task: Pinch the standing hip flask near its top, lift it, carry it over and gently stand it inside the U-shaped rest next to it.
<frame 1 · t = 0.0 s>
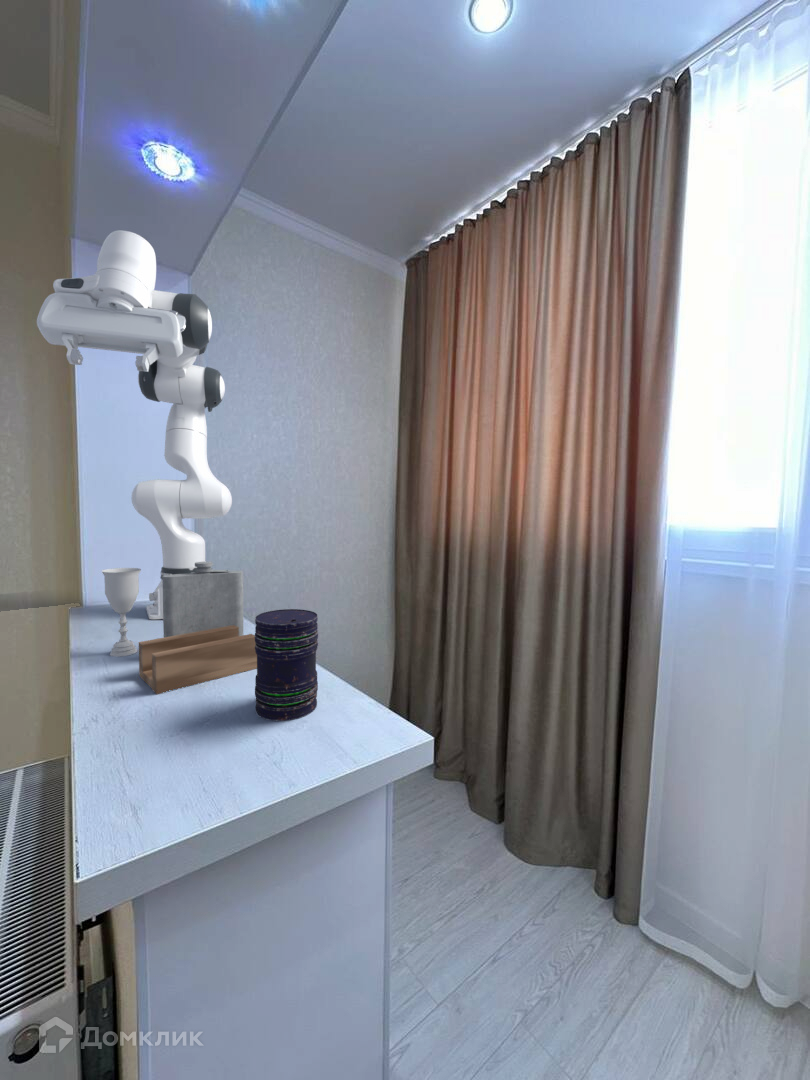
hand: (108, 365, 69), 54 cm above the worktop, tool tilted 30°, fingers open, 8 cm apart
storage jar: (286, 707, 70), on the worktop
chalice: (123, 653, 94), on the worktop
u rest: (200, 672, 84), on the worktop
hip flask: (205, 653, 95), on the worktop
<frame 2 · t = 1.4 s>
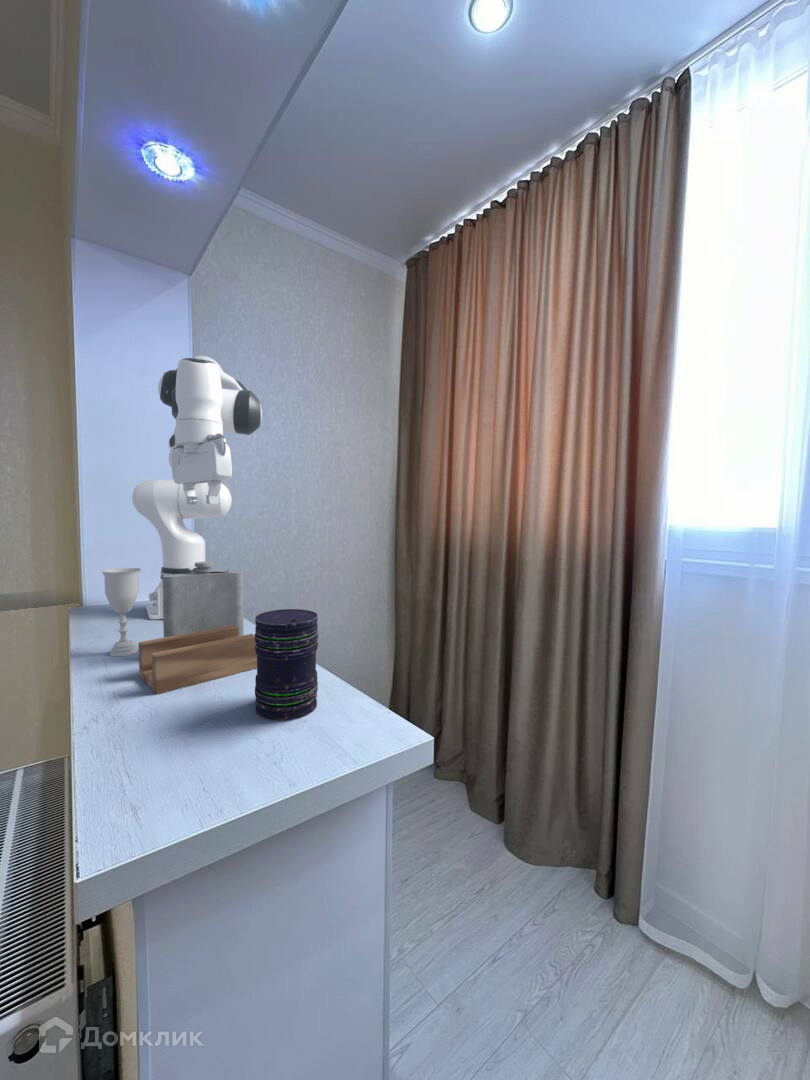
hand: (201, 504, 91), 32 cm above the worktop, tool pointing down, fingers open, 8 cm apart
nothing on the worktop moved.
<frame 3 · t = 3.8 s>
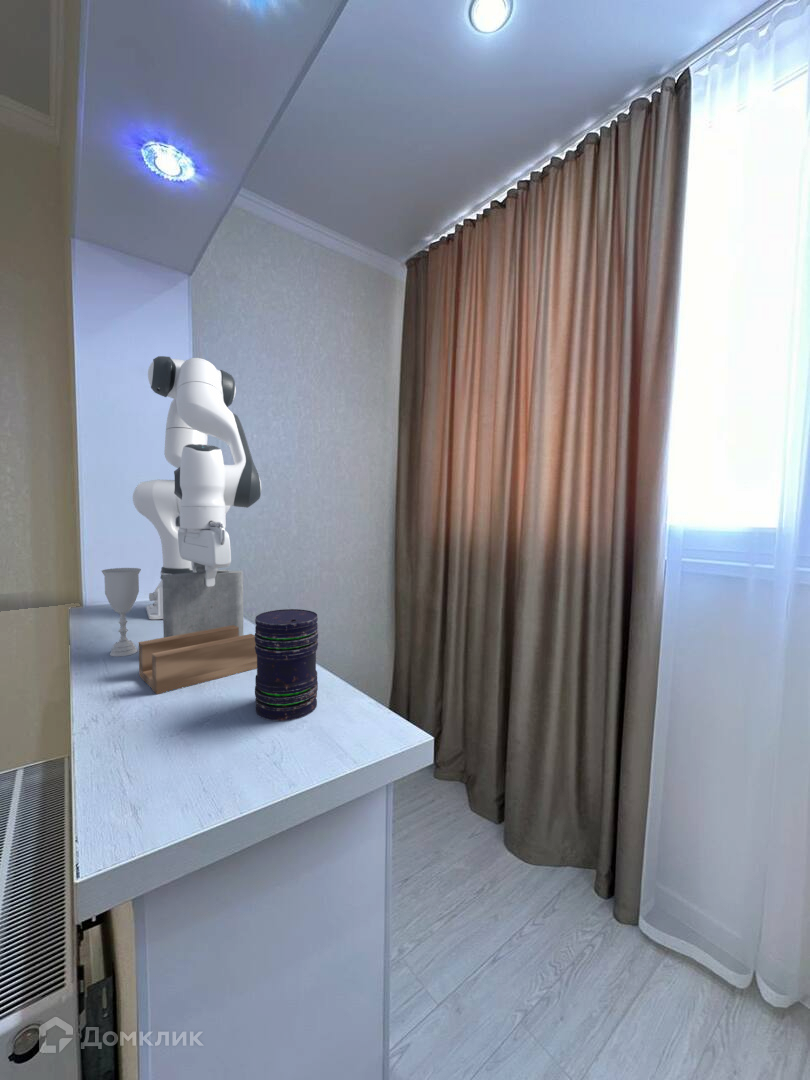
hand: (204, 584, 94), 15 cm above the worktop, tool pointing down, fingers closed on hip flask, 4 cm apart
hip flask: (205, 652, 95), on the worktop, touching gripper
everything else where it was.
when the fingers open (25 cm above the worktop, at t = 8.5 s): hip flask stays where it is, resting on u rest.
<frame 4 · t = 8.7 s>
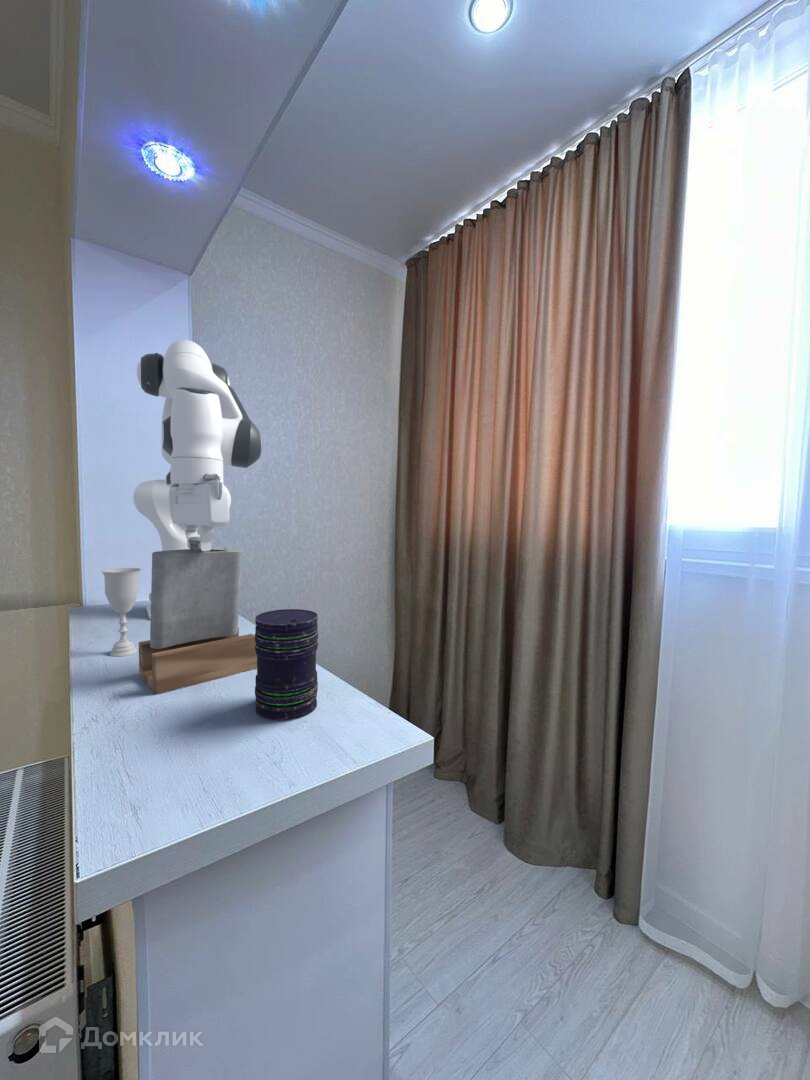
hand: (198, 549, 82), 24 cm above the worktop, tool pointing down, fingers open, 4 cm apart
hip flask: (195, 638, 85), point 6 cm above the worktop, touching gripper, u rest
everything else where it was.
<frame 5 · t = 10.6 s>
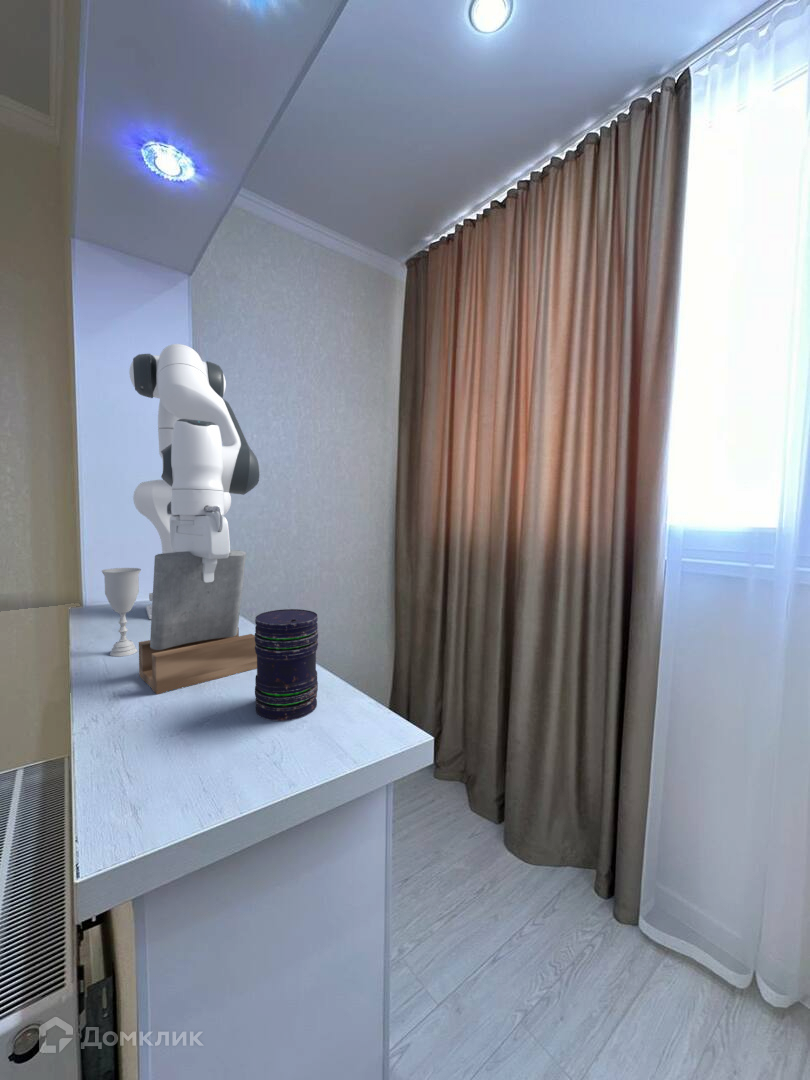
hand: (199, 579, 82), 18 cm above the worktop, tool pointing down, fingers open, 6 cm apart
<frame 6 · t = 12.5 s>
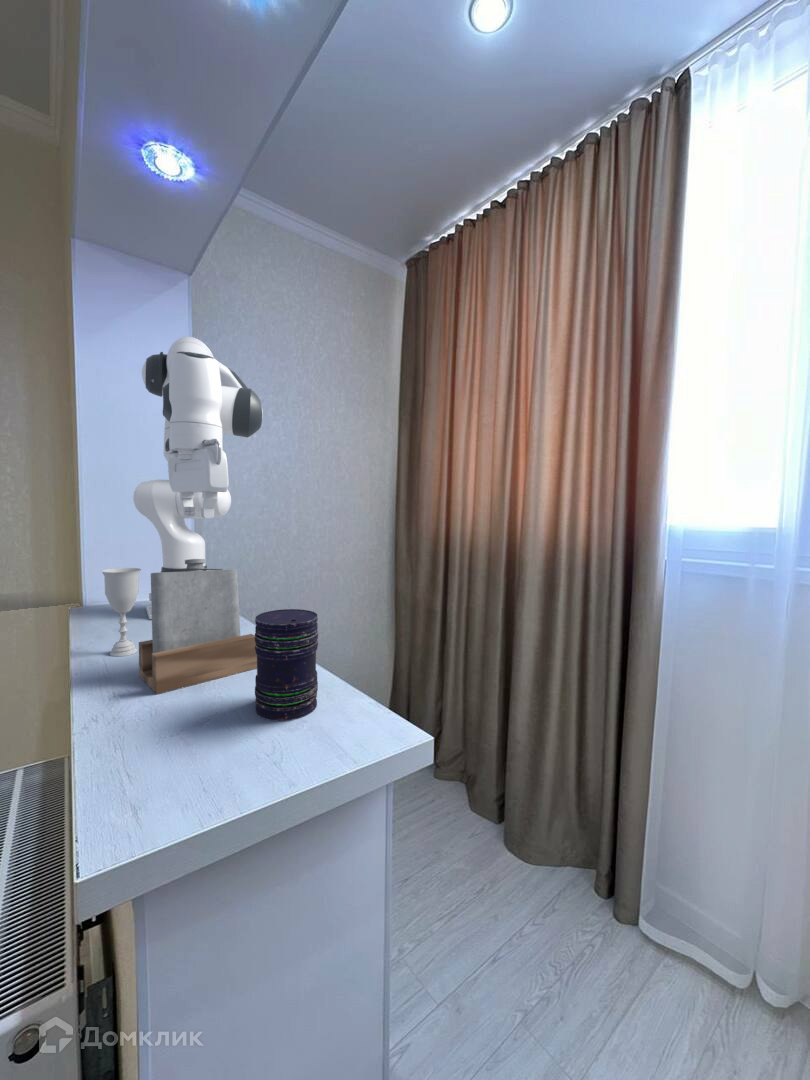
hand: (198, 516, 82), 30 cm above the worktop, tool pointing down, fingers open, 8 cm apart
hip flask: (199, 663, 84), point 2 cm above the worktop, touching u rest
everything else where it was.
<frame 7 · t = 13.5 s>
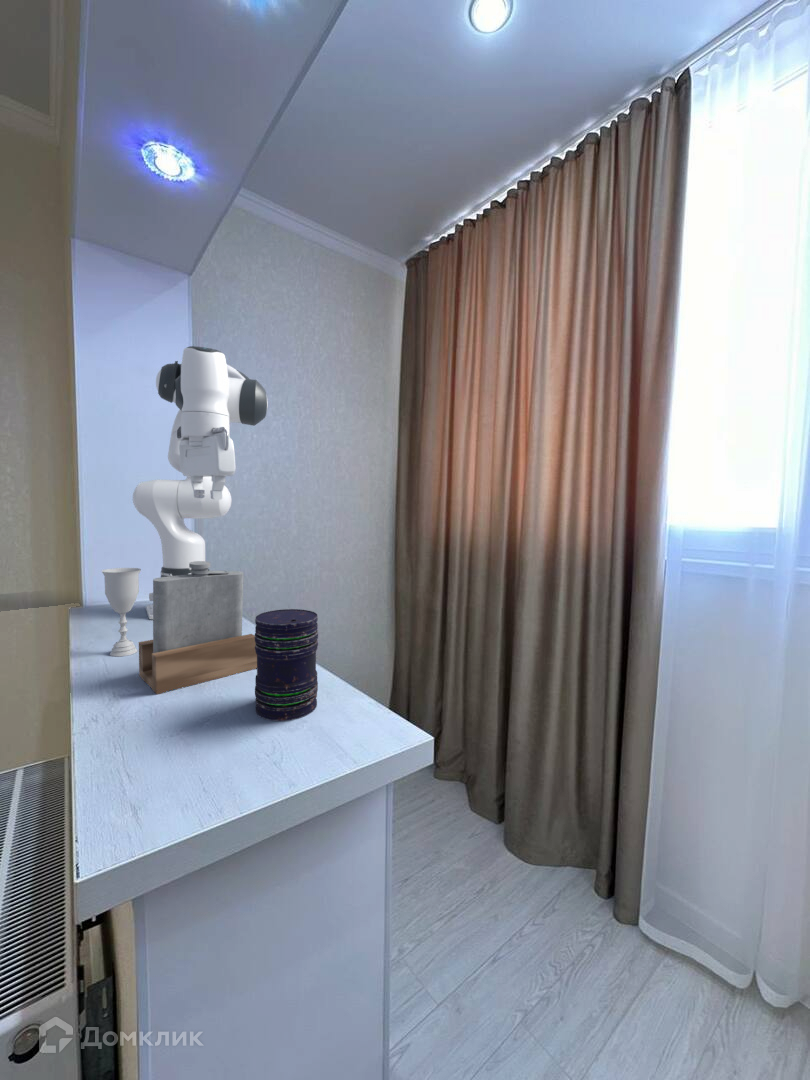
hand: (207, 498, 89), 34 cm above the worktop, tool pointing down, fingers open, 8 cm apart
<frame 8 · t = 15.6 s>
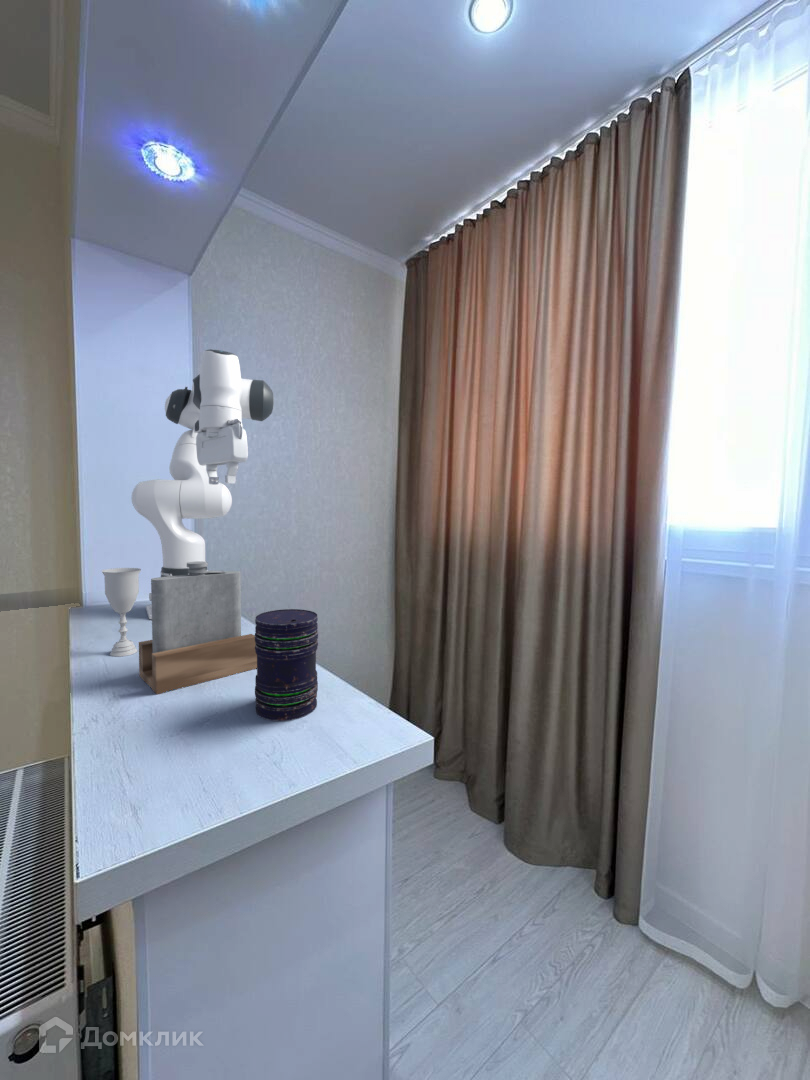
hand: (221, 484, 100), 37 cm above the worktop, tool pointing down, fingers open, 8 cm apart
at the end: hip flask 0.2 cm off-centre on the u rest, point 1.3 cm above the u rest's base; hip flask tilted 0°; the gripper is holding nothing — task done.
